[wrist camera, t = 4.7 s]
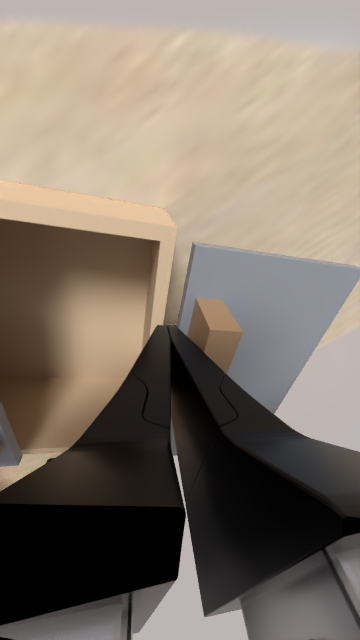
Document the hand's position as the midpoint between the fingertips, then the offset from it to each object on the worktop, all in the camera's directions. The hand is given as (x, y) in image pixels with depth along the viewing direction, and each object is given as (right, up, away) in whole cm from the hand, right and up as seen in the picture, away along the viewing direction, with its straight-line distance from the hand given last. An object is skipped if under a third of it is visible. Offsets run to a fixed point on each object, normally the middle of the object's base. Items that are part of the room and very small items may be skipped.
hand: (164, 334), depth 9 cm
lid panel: (+4, -3, +4) cm, 6 cm away
